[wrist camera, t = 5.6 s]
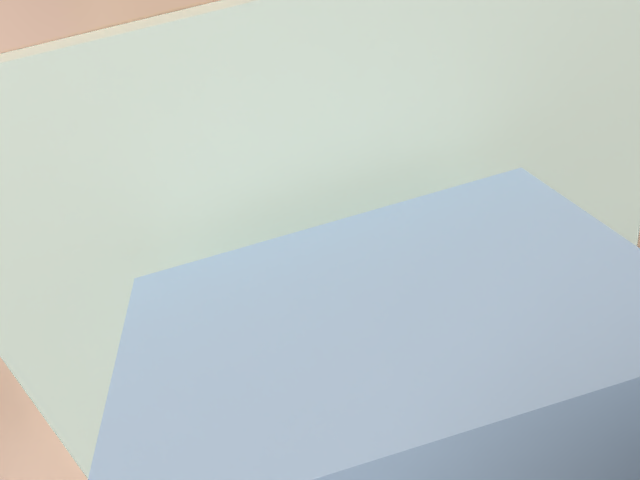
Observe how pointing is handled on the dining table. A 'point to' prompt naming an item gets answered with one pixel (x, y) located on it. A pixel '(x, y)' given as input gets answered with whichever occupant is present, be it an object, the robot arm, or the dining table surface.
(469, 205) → the brick
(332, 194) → the pale green square slab
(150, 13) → the dining table surface
